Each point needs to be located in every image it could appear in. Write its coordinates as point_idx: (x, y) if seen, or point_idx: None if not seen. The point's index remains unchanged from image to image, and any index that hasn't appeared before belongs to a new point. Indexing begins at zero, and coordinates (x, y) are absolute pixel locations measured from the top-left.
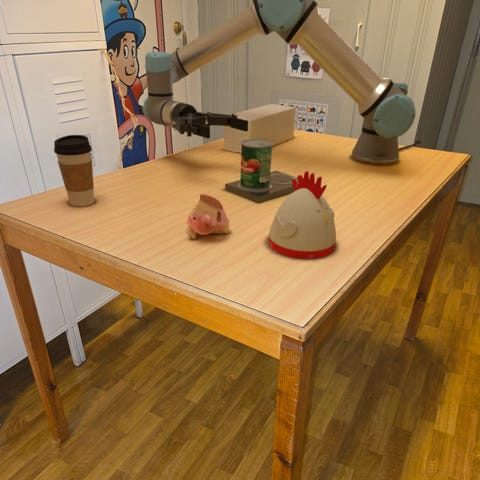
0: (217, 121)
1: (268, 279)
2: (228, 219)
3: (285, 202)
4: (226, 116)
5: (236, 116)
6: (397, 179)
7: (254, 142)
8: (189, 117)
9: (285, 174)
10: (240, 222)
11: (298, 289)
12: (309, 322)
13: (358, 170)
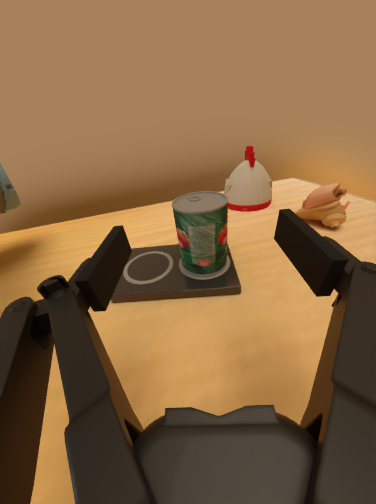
0: (105, 357)
1: (291, 190)
2: (296, 211)
3: (264, 170)
4: (60, 314)
5: (28, 297)
6: (52, 237)
7: (196, 205)
8: (368, 401)
9: (124, 274)
10: (274, 226)
11: (279, 185)
12: (288, 178)
13: (24, 266)
